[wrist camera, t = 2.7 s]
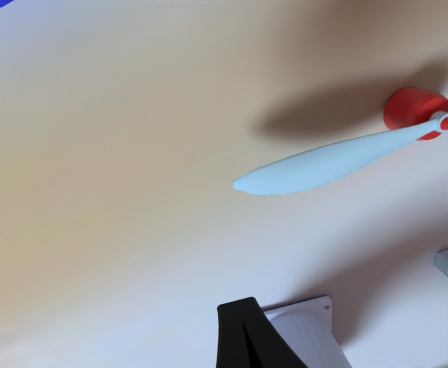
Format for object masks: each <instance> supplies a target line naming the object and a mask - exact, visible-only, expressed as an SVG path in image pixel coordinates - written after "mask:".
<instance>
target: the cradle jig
mask: <svg viewBox="0 0 448 368" xmlns="http://www.w3.org/2000/svg"><path fill="white" fill-rule="evenodd" d="M434 266H436V267H437V268H438V269H439V270H440V271H442V272H443V273H444V274H445V275H446V276H447V277H448V249H447V250H443V251H439V252H437V254H436V259H435V264H434Z"/></svg>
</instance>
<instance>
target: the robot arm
mask: <svg viewBox="0 0 448 368" xmlns="http://www.w3.org/2000/svg"><path fill="white" fill-rule="evenodd" d="M217 311H218V323H219V334H218V351H217V363H216V368H352V367H351V365H350V364H349V362H348V360H347V358H346V357H345V355H344V353H343V351H342V350H341V348H340V346H339V345H338V343H337V341H336V339H335V338H334V336H333V334H332V300H331V298H330V297H329V296H323V297H319V298H316V299H312V300H308V301H304V302H300V303H296V304H293V305H289V306H285V307H281V308H277V309H273V310H269V311H266V312H263V311H262V309H261V308H260V306H259V304H258V303H257V301H256V299H255V298H254V297H248V298H245V299H241V300H237V301H233V302H229V303H225V304H221V305H219V306H218V307H217Z"/></svg>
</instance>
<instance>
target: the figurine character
mask: <svg viewBox="0 0 448 368" xmlns="http://www.w3.org/2000/svg"><path fill="white" fill-rule="evenodd" d="M12 1H13V0H0V7H3V6H5V5H6V4H8V3H10V2H12Z"/></svg>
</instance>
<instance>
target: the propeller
mask: <svg viewBox="0 0 448 368" xmlns="http://www.w3.org/2000/svg"><path fill="white" fill-rule="evenodd" d="M384 122H385V124H386V126H387V127H388V128H389V129H390V130H391V131H386V132H381V133H376V134H372V135H367V136H362V137H358V138H353V139H349V140H345V141H341V142H337V143H333V144H329V145H325V146H322V147H318V148H315V149H312V150H309V151H305V152H302V153H299V154H296V155H293V156H290V157H287V158H285V159H282V160H279V161H276V162H273V163H271V164H268V165H266V166H263V167H260V168H258V169H256V170H253V171H251V172H249V173H247V174H245V175H243V176H241V177H239V178H238V179H236V180H234V181H232V183H233V188H234V189H238V190H241V191H245V192H248V193H252V194H256V195H274V194H287V193H295V192H299V191H304V190H308V189H312V188H316V187H320V186H322V185H325V184H328V183H330V182H332V181H335V180H337V179H340V178H342V177H344V176H346V175H348V174H350V173H352V172H354V171H356V170H358V169H360V168H362V167H364V166H366V165H368V164H370V163H372V162H374V161H375V160H377V159H379V158H381V157H383V156H385V155H387V154H389V153H391V152H393V151H395V150H397V149H399V148H401V147H403V146H405V145H407V144H409V143H411V142H413V141H415V140H419V141H420V140H430V139H433V138H436V137H437V136H439V135H440V134H442V133H447V132H448V99H447V98H446V97H445V96H443V95H442V94H440V93H435V92H431V91H426V90H421V89H417V88H412V87H408V88H404V89H401V90H399V91H398V92H396V93H395V94H394V95H393V96H392V97H391V98H390V99H389V101H388V102H387V104H386V107H385V110H384Z"/></svg>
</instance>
